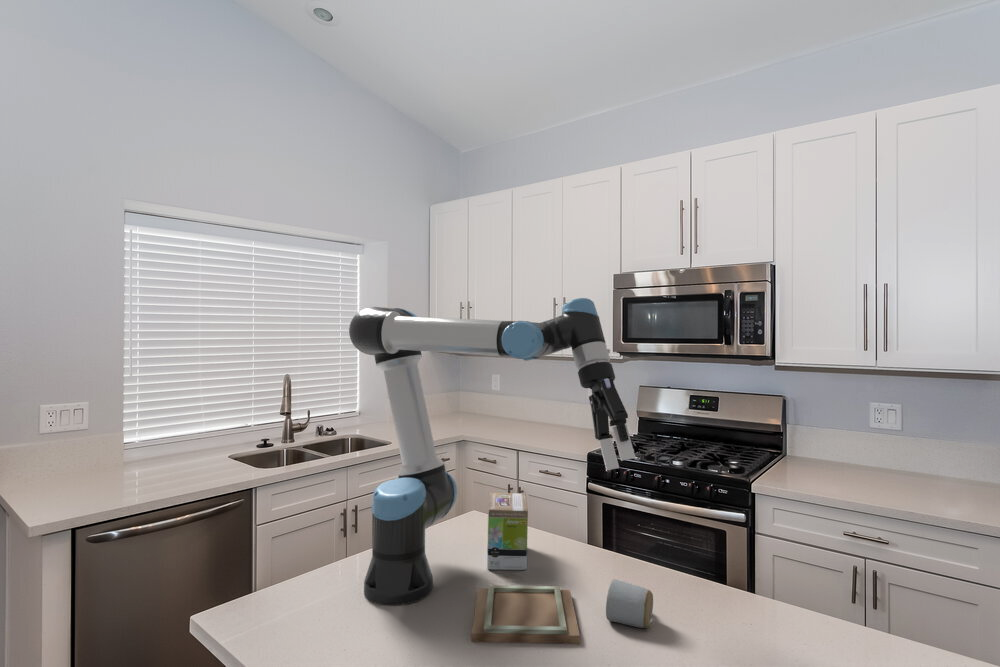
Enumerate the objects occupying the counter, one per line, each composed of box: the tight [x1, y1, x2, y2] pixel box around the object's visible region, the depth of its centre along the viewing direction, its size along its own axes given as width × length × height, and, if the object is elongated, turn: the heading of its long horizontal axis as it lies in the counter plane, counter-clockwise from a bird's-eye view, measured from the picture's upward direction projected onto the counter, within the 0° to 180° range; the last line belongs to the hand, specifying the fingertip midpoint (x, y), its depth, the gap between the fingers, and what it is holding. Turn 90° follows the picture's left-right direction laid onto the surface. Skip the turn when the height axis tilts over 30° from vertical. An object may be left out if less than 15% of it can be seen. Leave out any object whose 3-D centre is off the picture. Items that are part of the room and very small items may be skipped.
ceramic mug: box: [605, 578, 654, 629], centre depth 109 cm, size 11×8×8 cm
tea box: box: [486, 492, 529, 571], centre depth 138 cm, size 15×10×15 cm
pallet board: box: [470, 584, 581, 645], centre depth 109 cm, size 20×18×2 cm
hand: (620, 464), depth 109 cm, fingers open, 13 cm apart
